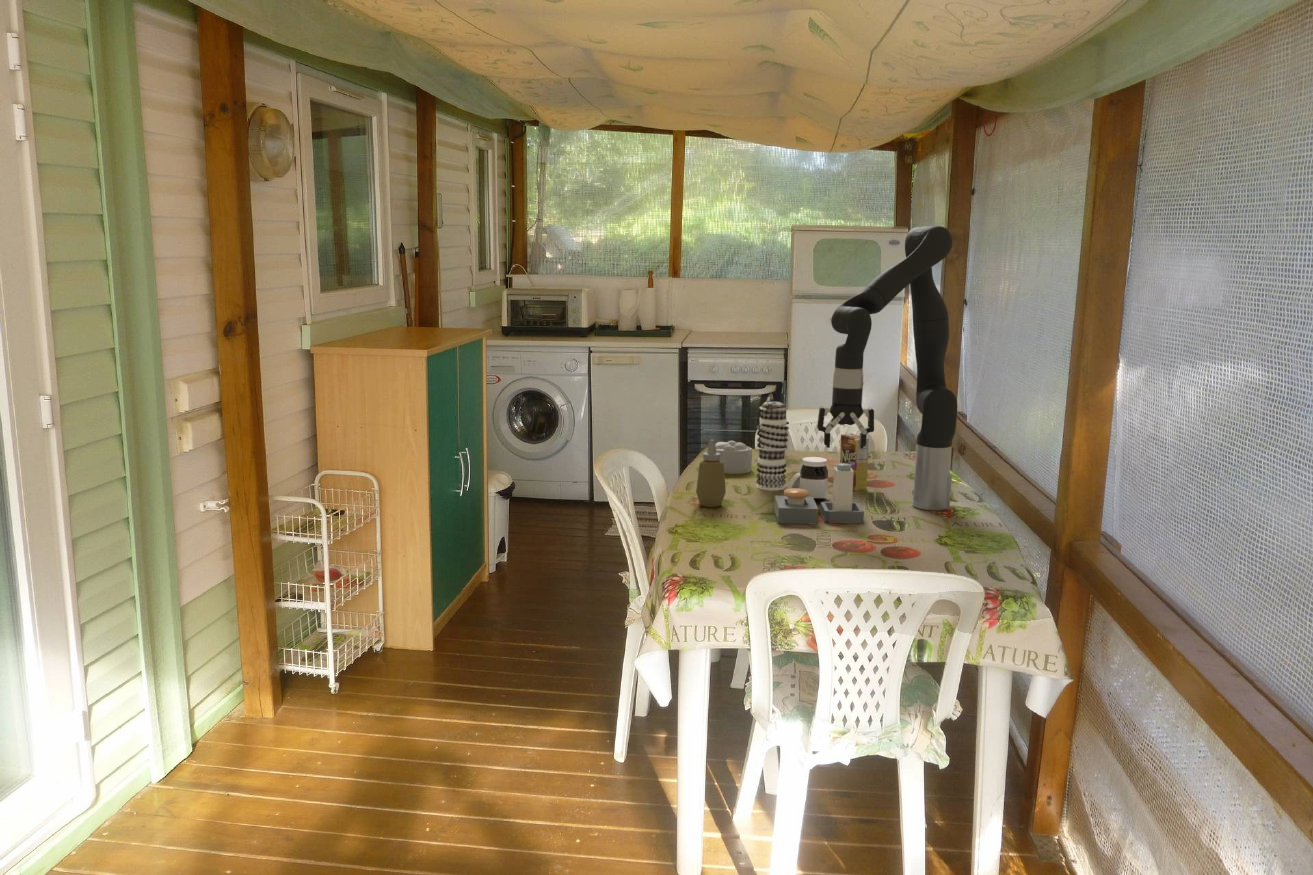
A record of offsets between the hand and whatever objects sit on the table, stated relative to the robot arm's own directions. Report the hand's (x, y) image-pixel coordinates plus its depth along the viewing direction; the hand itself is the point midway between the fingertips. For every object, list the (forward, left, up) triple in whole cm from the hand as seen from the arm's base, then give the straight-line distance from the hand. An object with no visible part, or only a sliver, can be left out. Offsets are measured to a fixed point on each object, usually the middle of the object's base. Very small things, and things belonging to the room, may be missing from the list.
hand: (844, 447), depth 267 cm
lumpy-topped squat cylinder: (+27, -54, -19) cm, 64 cm away
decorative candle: (+16, -32, -19) cm, 41 cm away
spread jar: (+7, -19, -19) cm, 28 cm away
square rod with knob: (0, 0, -19) cm, 19 cm away
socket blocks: (+6, 0, -19) cm, 20 cm away
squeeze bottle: (+34, -10, -19) cm, 40 cm away
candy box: (-8, -34, -19) cm, 40 cm away
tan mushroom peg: (+12, 0, -18) cm, 21 cm away
